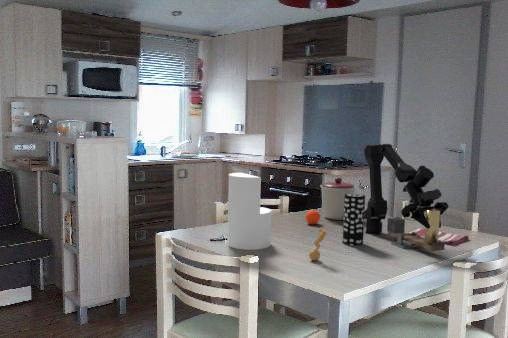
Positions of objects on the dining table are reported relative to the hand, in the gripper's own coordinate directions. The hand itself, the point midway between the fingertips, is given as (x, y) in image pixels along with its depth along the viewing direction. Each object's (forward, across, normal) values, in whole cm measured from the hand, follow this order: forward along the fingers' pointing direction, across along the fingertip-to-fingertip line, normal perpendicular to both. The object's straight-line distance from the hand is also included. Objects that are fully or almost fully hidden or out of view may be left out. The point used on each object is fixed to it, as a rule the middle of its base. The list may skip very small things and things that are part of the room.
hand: (434, 227), depth 196 cm
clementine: (-37, -19, +52) cm, 67 cm away
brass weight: (+4, 0, +6) cm, 7 cm away
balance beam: (-2, 0, +14) cm, 14 cm away
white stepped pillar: (-17, -61, +33) cm, 72 cm away
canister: (-44, 0, +59) cm, 74 cm away
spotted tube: (-10, -20, +25) cm, 34 cm away
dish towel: (-9, +21, +25) cm, 33 cm away
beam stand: (-3, 0, +18) cm, 19 cm away
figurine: (+4, -46, +12) cm, 48 cm away
